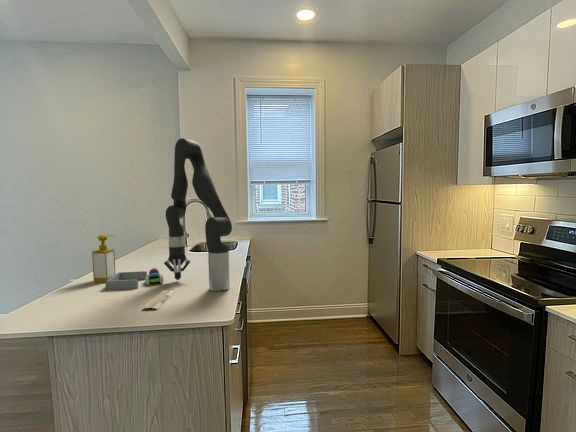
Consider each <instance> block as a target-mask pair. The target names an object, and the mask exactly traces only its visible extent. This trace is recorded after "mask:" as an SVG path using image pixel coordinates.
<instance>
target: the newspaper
mask: <svg viewBox="0 0 576 432" xmlns="http://www.w3.org/2000/svg"><path fill="white" fill-rule="evenodd" d="M175 292H176V291H175V290H172V289H166V290H165V289H164V290H162V291H161V292H159V293H158V294H157V295H155V297H153V299H152V300H151V301H149V302H148V303H147V304H146V305H145V306H143V308H141V311H145V309H150V308H151V309H156V311H158V310H160V308H161V307H162V306H163V305H164V304H165V303H166V302H167V301H168V300H169V299H170V298H171V297H172V296H173V295H174V294H175Z"/></svg>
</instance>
